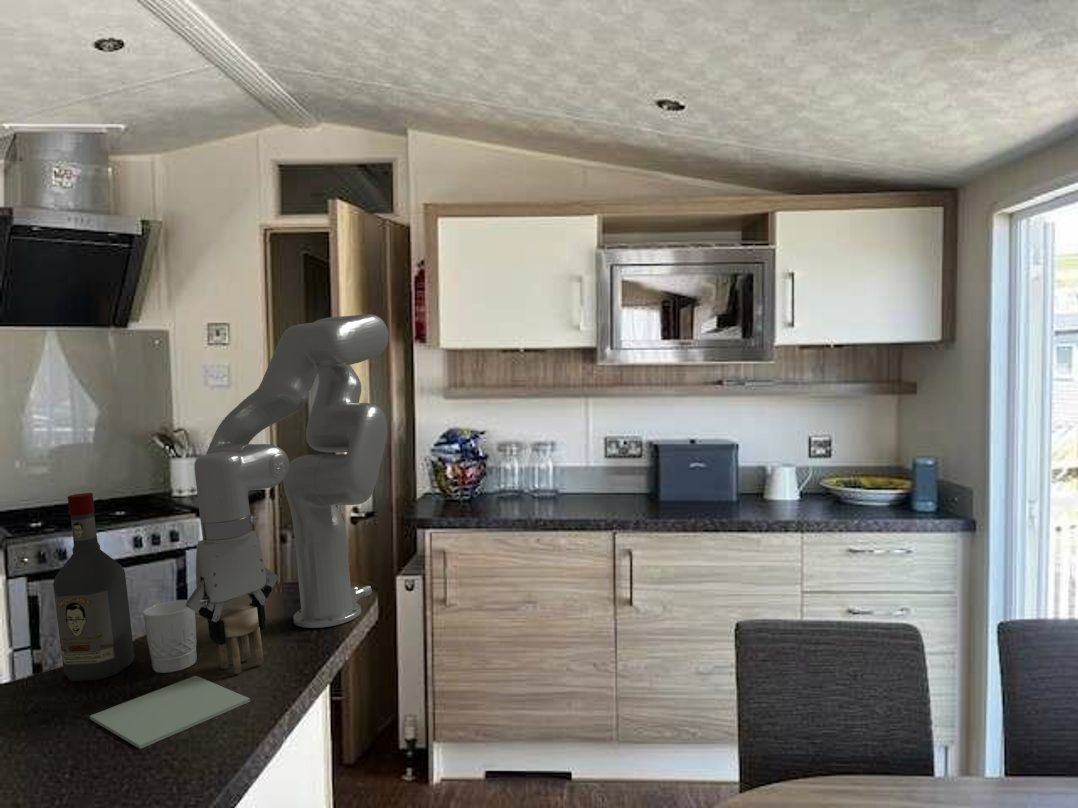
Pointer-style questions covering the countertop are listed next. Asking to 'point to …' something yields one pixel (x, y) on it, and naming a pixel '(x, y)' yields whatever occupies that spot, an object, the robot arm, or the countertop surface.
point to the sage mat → (168, 711)
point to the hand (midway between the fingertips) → (239, 634)
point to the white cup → (171, 635)
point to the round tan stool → (240, 634)
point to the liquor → (91, 603)
